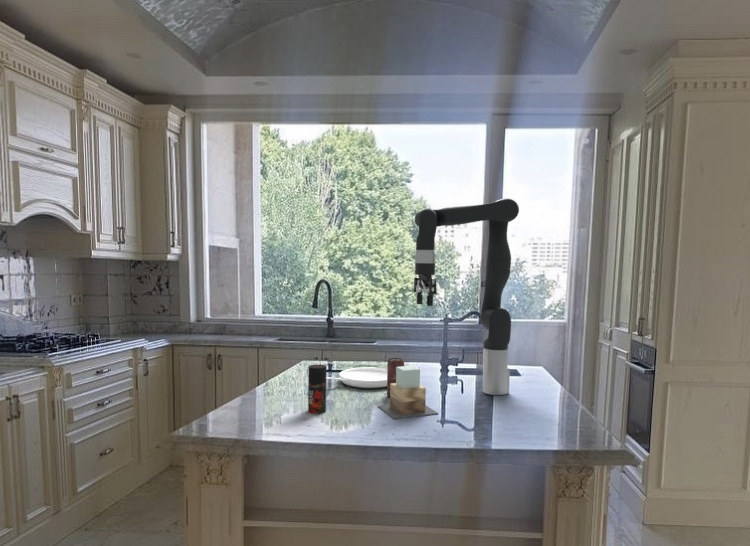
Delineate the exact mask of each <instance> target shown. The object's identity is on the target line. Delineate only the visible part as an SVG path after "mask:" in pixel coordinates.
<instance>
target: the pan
mask: <svg viewBox="0 0 750 546" xmlns="http://www.w3.org/2000/svg"><path fill="white" fill-rule="evenodd" d="M338 376H339V377H331V376H326V380H334V381H335V380H336V381H341V382H342V383H343V384H344V385H346V386H347V387H351V388H357V389H365V390H366V389H367V390H368V389H369V390H370V389H384V388H387V368H384V367H374V366H373V367H370V366H368V367H366V366H365V367H364V366H363V367H352V368H347V369H344V370H341V372H339V373H338Z"/></svg>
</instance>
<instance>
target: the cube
mask: <svg viewBox="0 0 750 546" xmlns="http://www.w3.org/2000/svg"><path fill="white" fill-rule="evenodd" d="M396 385H398V386H400V387H401V388H403V389H406V388H417V387H420V385H421V369H420V368H418V367H416V366H414V365H406V366H405V365H404V366H401V367H396Z"/></svg>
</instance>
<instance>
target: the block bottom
mask: <svg viewBox="0 0 750 546" xmlns="http://www.w3.org/2000/svg"><path fill="white" fill-rule="evenodd" d="M426 401H427V399H426V400H420V401H409V402H399V401H398V400H397V399H395V398H394V397H392V396H391V395H390V398H389V405H390V407H391V408H392V409H394V410H395V411H396V412H398V413H399V414H400V415H401V414H410V413H420V412H425V405H426Z"/></svg>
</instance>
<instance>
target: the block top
mask: <svg viewBox="0 0 750 546" xmlns="http://www.w3.org/2000/svg"><path fill="white" fill-rule="evenodd" d="M426 392H427V391H426V387H424V386H423V385H421V384H420V387H417V388H406V389H403V388H401V387H400V386H398V385H396V383H391V384H390V395H391V396H392V397H394V398H395V399H397V400H398V401H399V402H409V401H420V400H426V401H427V399H426V397H427V395H426Z"/></svg>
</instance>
